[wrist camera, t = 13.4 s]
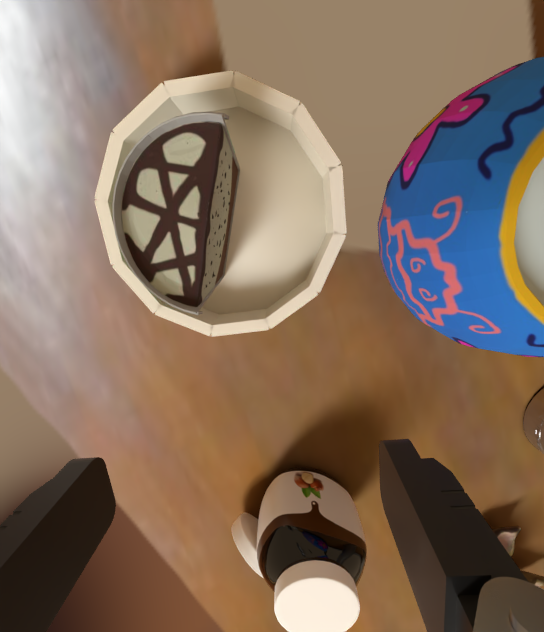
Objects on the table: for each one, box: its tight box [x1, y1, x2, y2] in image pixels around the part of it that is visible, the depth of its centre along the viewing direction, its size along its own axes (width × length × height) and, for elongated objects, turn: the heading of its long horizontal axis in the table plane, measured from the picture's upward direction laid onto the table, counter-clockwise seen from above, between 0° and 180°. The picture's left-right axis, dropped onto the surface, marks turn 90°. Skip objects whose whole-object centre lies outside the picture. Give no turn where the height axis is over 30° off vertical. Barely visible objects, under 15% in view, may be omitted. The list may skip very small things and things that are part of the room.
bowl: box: [95, 70, 347, 337], centre depth 27 cm, size 19×19×4 cm
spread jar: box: [232, 467, 366, 632], centre depth 31 cm, size 12×11×12 cm
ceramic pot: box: [378, 57, 544, 357], centre depth 21 cm, size 18×18×15 cm
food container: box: [112, 112, 240, 315], centre depth 23 cm, size 12×6×10 cm, turn 169°
